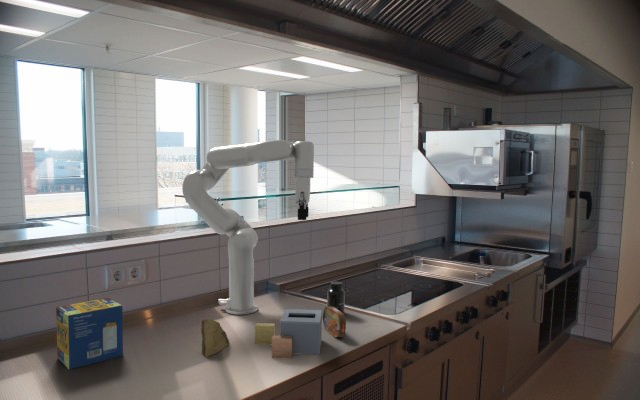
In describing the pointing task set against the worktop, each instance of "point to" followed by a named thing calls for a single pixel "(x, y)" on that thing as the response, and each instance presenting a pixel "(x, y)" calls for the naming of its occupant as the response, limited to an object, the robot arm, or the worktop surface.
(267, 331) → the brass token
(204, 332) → the rock
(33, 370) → the worktop surface
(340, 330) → the tin
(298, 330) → the blue-grey block with hole
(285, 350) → the brown wooden square slab
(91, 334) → the protein box
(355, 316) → the worktop surface
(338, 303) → the supplement bottle
